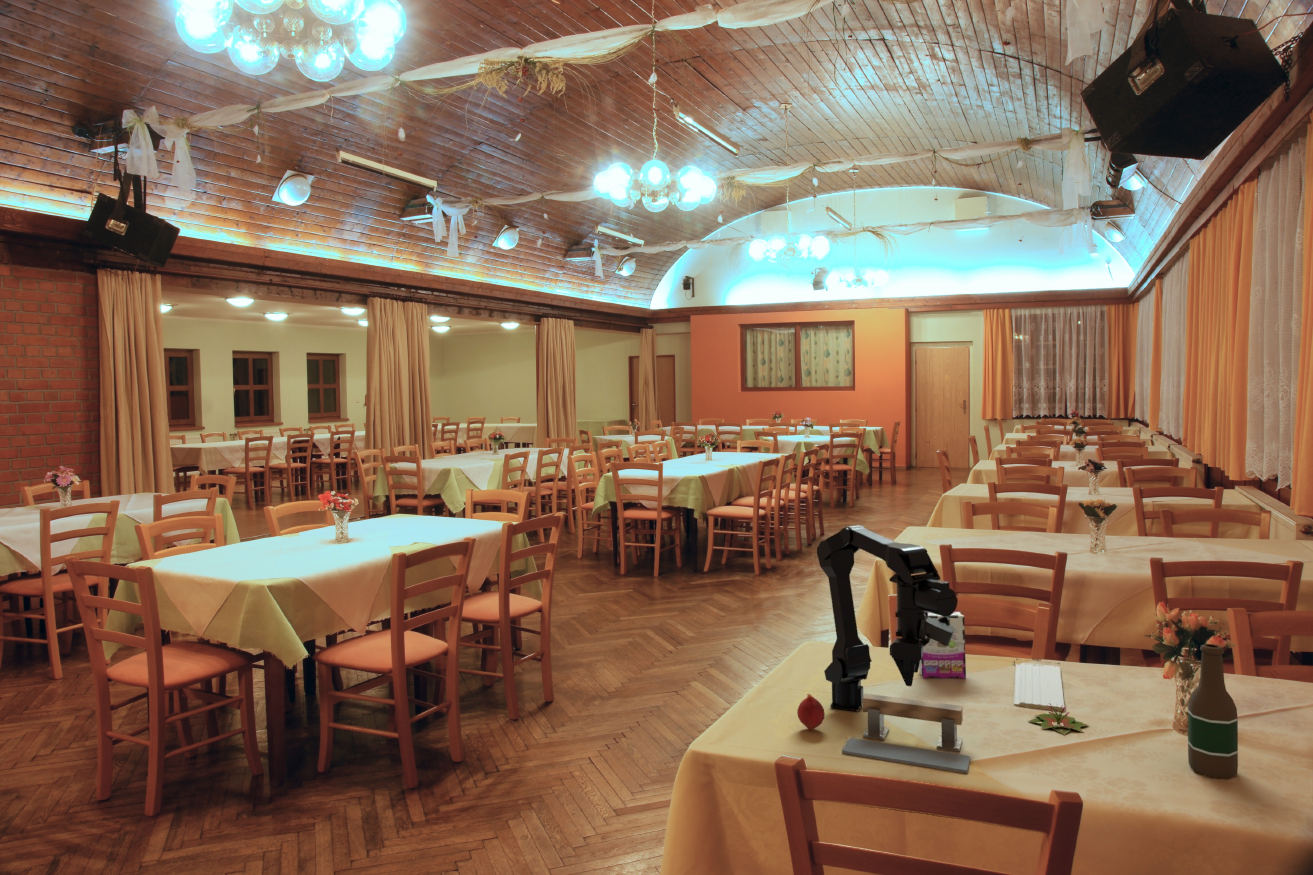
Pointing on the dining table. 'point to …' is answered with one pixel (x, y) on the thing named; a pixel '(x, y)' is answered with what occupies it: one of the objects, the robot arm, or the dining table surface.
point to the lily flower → (1058, 721)
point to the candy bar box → (945, 652)
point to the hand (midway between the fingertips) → (912, 678)
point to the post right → (949, 736)
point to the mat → (907, 755)
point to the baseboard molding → (1038, 686)
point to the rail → (913, 708)
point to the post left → (875, 725)
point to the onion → (810, 712)
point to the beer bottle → (1212, 720)
